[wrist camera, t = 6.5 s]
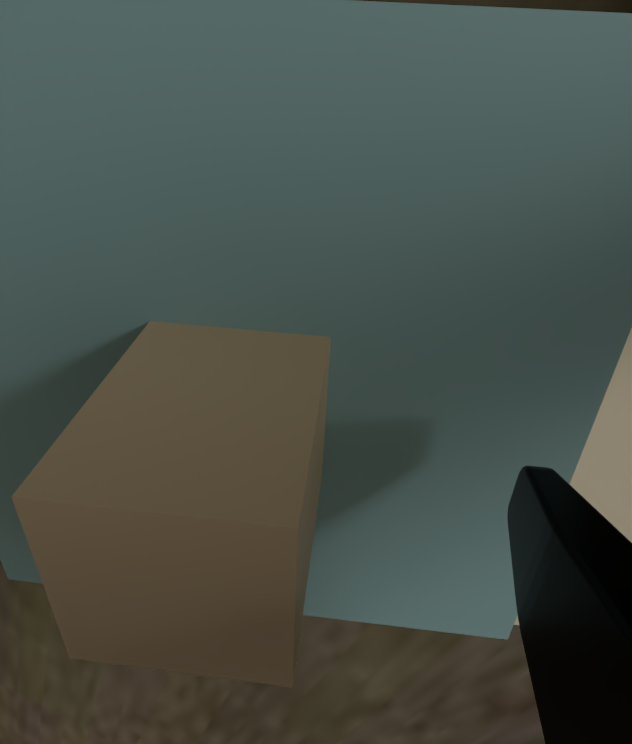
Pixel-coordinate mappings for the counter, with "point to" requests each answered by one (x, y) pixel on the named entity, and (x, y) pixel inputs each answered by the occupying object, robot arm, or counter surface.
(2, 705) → the counter surface
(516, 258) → the lid
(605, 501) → the mat
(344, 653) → the counter surface
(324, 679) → the counter surface
